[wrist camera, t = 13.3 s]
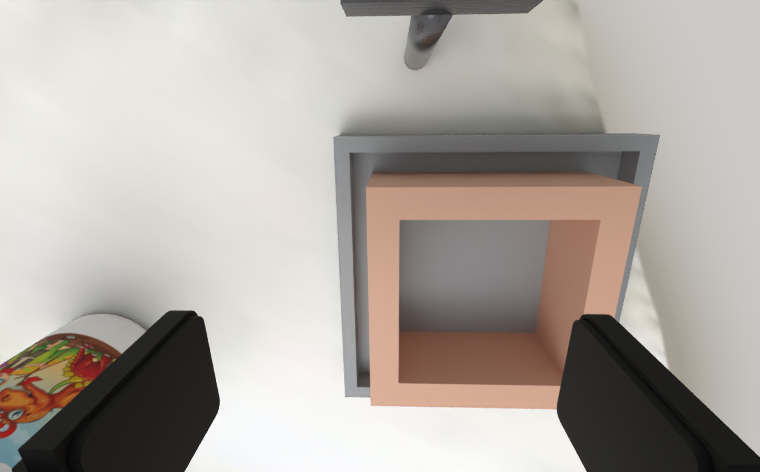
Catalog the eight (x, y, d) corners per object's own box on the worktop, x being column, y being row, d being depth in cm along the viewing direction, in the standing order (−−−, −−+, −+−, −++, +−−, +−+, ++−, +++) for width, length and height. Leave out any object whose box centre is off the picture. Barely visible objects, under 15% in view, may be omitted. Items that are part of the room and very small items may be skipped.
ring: (372, 172, 21) (366, 187, 16) (584, 170, 20) (642, 186, 16) (375, 350, 25) (370, 405, 20) (555, 352, 24) (595, 409, 19)
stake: (368, 46, 19) (338, -45, 9) (463, 44, 19) (550, -50, 9) (369, 70, 20) (340, 12, 9) (461, 69, 20) (543, 9, 9)
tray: (338, 135, 21) (333, 137, 19) (634, 133, 20) (659, 134, 18) (348, 376, 26) (345, 396, 24) (585, 380, 25) (601, 401, 23)
